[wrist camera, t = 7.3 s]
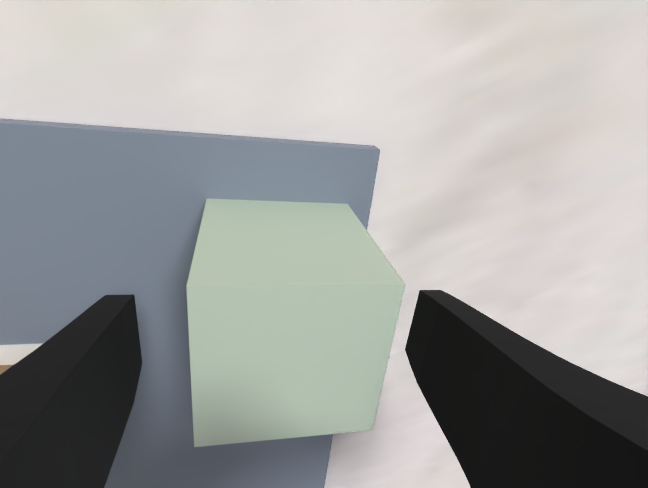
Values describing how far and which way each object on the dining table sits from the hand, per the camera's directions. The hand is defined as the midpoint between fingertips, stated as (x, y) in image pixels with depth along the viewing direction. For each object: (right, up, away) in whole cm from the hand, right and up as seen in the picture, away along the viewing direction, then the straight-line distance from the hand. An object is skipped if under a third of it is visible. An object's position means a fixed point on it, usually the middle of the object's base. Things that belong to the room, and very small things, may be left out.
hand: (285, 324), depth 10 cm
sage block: (-1, +1, +3) cm, 4 cm away
